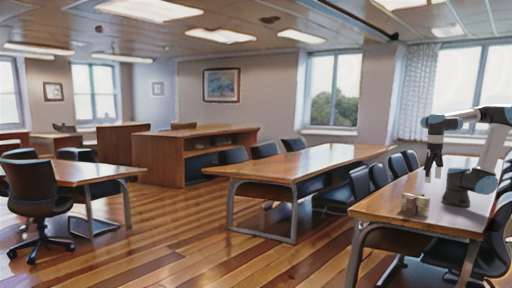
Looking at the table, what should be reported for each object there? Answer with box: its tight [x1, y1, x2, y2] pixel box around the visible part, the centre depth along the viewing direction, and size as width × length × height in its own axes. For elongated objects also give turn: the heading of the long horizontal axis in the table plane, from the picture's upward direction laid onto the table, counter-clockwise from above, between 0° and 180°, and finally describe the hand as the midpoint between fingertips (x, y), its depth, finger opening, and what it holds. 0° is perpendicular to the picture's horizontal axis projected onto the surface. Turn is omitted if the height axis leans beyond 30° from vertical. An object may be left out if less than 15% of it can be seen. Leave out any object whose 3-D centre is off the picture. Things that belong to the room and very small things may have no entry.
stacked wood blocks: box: [400, 192, 431, 218], centre depth 171 cm, size 14×3×10 cm, turn 39°
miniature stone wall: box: [404, 192, 425, 217], centre depth 171 cm, size 16×3×10 cm, turn 129°
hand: (432, 180), depth 166 cm, fingers open, 13 cm apart
